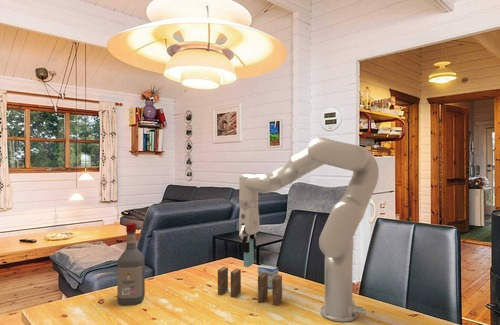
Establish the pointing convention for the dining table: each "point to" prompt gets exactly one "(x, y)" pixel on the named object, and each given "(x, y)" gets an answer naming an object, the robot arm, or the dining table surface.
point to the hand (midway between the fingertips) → (248, 250)
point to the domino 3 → (249, 255)
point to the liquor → (131, 271)
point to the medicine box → (271, 273)
